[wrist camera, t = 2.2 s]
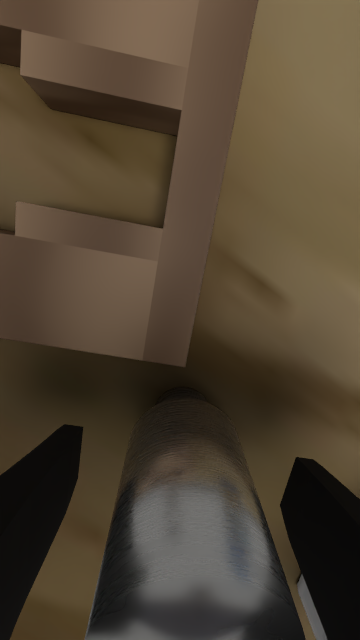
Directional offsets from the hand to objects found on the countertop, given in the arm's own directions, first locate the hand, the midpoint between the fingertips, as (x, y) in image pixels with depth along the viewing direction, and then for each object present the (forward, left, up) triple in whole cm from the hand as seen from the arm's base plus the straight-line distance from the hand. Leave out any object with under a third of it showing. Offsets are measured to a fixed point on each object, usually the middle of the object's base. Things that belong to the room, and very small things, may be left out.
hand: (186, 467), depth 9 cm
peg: (0, 0, -3) cm, 3 cm away
